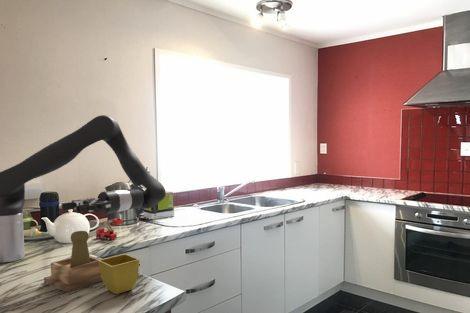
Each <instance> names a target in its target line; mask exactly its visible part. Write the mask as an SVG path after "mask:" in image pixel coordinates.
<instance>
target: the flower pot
mask: <svg viewBox="0 0 470 313" xmlns="http://www.w3.org/2000/svg"><path fill="white" fill-rule="evenodd" d="M98 262H99V268H100V273H101V278H102V281H101V282H102V283H103V285H104V286H105V288H106V289H107V290H108V291H109V292H112V293H113V294H115V295H118V294H121V293H125V292H128V291H131V290H133V288H134V287H135V284H136V282H137V280H138V278H139V270H140V269H139V267H140V259H139V258H137V257H135V256H131V255H129V254H127V253H122V254H119V255H116V256H115V255H114V256H111V257H108V258H103V259H102V258H101V260H99V261H98Z"/></svg>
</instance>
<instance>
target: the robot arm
mask: <svg viewBox="0 0 470 313" xmlns="http://www.w3.org/2000/svg"><path fill="white" fill-rule="evenodd" d="M101 141H104V142H105V143H106V144H107V145H108V146H109V147H110V148H111V150H112V151H113V153H114V154H115V156H116V157H117V159H118V162H119V164H120V166H121V168H122V169H123V172H124V173H125V174H126V176H127V177H128V179H129V180H130V182H131V183H132V185H133V186H134V187H140V186H142V187H144V188H145V189H144V190H141V189H139V188H129V189H128V188H127V189H116V190H106V191H101V192H100V193H99V194H98V195H97V197H90V198H81V199H72V200H71V201H69V202H62V203H61V211H67V210H75V213H76V214H80V213H81V214H82V213H92V212H93V213H97V212H98V213H99V212H100V213H101V214H102V215H109V214H114V213H120V212H124V211H127V210H133V209H143V210H144V209H148V208H152V207H154V206H155V205H157V204H158V203H159V202H160V201H162V200H163V199H164V198H165V196H166V192H165V191H166V189H165V186H164V185H163V184H162V183H161V182H160V181H158V179H156V178H155V177H154V176H153V175H151V174H150V173H149V172H148V170H147V169H146V167H145V166H144V164H143V163H142V161H141V160H140V158H139V157H138V156H137V155H136V154H135V152H134V150H133V149H132V148H131V146H130V144H129V142H128V141H127V140H126V137H125V135H124V134H123V131H122V128H121V126H120V124H119V122H118V121H117V120H115V119H114V118H112V117H110V116H109V115H106V114H103V115H98V116H96V117H93V118H92V119H91V120H89V121H88V122H86V123H85V124H84V125H82V126H81V127H79V128H77V129H76V130H75V131H73V132H71V133H68V134H67V135H66V136H63V137H61V138H60V139H58V140H56V141H54V142H52V143H50V144H48V145H47V146H45V147H43V148H41V149H40V150H38V151H36V152H35V153H33V154H32V155H30V156H28V157H27V158H26V159H24V160H23V161H21V162H19V163H17V164H15V165H12V166H11V167H8V168H6V169H4V170H1V171H0V263H10V262H16V261H20V260H22V259H24V258H25V237H24V236H25V234H24V211H23V210H24V206H25V199H26V197H25V196H26V195H25V193H26V192H25V191H26V190H25V189H26V188H25V187H26V186H25V184H26V183H28V182H30V181H32V180H34V179H37V178H39V177H42V176H45V175H47V174H48V175H49V174H50V173H52V172H54V171H56V170H59V169H61V168H62V167H64V166H66V165H68V164H69V163H70V162H72V161H73V160H74V159H76V157H78V155H80V153H81V152H82V151H83V150H85V149H86V148H87V147H89V146H91V145H95V143H98V142H101Z"/></svg>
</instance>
